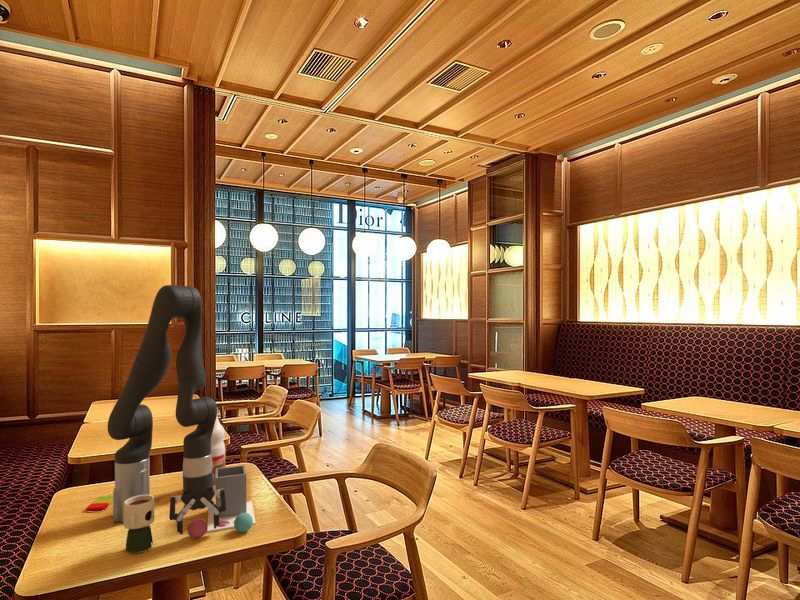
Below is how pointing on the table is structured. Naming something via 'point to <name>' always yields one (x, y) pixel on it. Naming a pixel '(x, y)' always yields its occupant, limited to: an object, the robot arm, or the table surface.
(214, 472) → the strawberry milk bottle
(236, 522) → the teal ball
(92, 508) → the popsicle
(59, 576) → the table surface
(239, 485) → the tube card
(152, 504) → the character mug
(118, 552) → the table surface
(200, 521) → the pink ball
